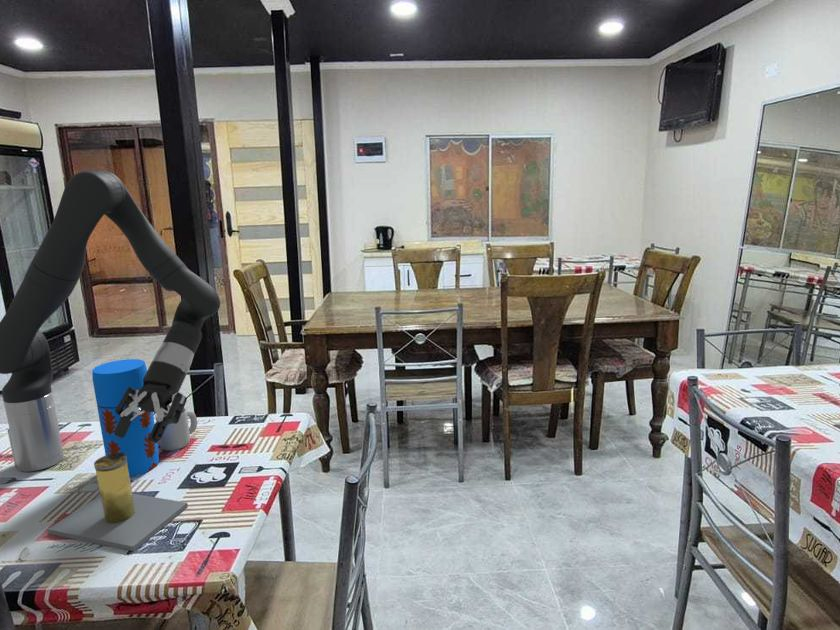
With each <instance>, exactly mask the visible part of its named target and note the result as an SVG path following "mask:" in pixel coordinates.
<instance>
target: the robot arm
mask: <svg viewBox="0 0 840 630" xmlns="http://www.w3.org/2000/svg"><path fill="white" fill-rule="evenodd" d="M61 195H62V196H61V199H60V201H59V204H58V206H57V210H56V213H55V216H54V218H53V221H52V223H51V225H50V227H49V229H48V230H47V232H46V234H45V236H44V237H43V239H42V241H41V243H40V245H39V248H38V249H37V251H36V253H35V255H34V256H33V258H32V260H31V262H30V264H29V266H28V268H27V270H26V272H25V274H24V277H23V279H22V281H21V284H20V285H19V287H18V289H17V291H16V293H15V295H14V296H13V299H12V301H11V303H10V305H9V307H8V309H7V311H6V313H5V314H4V316H3V317H2V319H1V320H0V375H9V374H11V376H10V378H9V380H8V381H7V382H6V383H5V384H4V386H3V387H2V389H1V396H2V401H3V406H4V410H5V415H6V419H7V423H8V429H7V434H8V439H9V443H10V449H11V453H12V457H13V459H12V460H13V462H14V466H15V467H17V469H18V470H19V471H21V472H25V473H26V472H35V471H36V472H37V471H40V470H44V469H47V468H50V467H53V466H55V465H57V464H59V463H60V462H61V461H62V460H64V458H65V454H64V448H63V443H62V436H61V432H60V431H61V430H60V426H59V421H58V417H57V411H56V404H55V400H54V396H53V391H52V383H53V378H54V372H53V371H54V370H53V362H52V358H51V350H50V345H49V342H48V340H47V337H46V336H45V335H44V334H43V332H42V331H40V328H41V327H42V326H43V325H44V324H45V323H46V321H48V319H49V318H50V317H52V315H54V314H55V312H56V311H58V310H59V308H61V306H62V305H64V304H65V302H66V301H67V300H68V299H69V297H70V296H71V295H72V293H73V291H74V289H75V287H76V285H77V284H78V282H79V280H80V278H81V276H82V274H83V271H84V267H85V262H86V254H87V253H86V252H87V245H88V242H89V239H90V237H91V235H92V233H93V231H94V230H95V229H96V227H97V225H98V223H99V222H100V220H101V219H102V218H103V217H104V216H106V217H107V218H109V220H110V221H111V222H113V223H114V224H115V225H116V226H117V227H118V228H119V229H120V230H121V232H122V233H123V235H125V237H126V239H127V240H128V241H127V242H129V244H130V246H131V248H132V249H133V252H134V254H135V255H136V258H138V261H139V262H140V263H141V265H142V267H143V268H144V269H145V270H146V271H147V272H148V273H149V274H150V275H151V277H152V278H153V279H154V280H155V281H156V283H158V284H159V286H161V287H162V288H163V290H165V291H167V292H175V293H177V294H178V295H179V296H180V297H181V300H180V301H179V303H178V305H177V307H176V309H175V313H174V315H173V319H172V323H171V326H170V328H169V330H168V331H167V333H166V335H165V337H164V339H163V342H162V343H161V345H160V346H159V348H158V350H157V351H156V352H155V355H154V357H153V359H152V361H151V363H150V365H149V366H148V369H147V372H146V374H145V376H144V378H143V383H144V384H143V387H142V388H141V389H140V390H135V389H133V388H132V387H129V388H128V389H127V390H126V392H125V394H124V396H123V398H122V399H121V401H120V403H119V405H118V406H117V408H116V410H115V413H117V414H118V415H120V416H121V418H120V420H119V422H118V424H117V426H116V428H115V431H114V432H115V433H114V435H115V436H117V437H119V438H124V437H125V435H126V433H127V431H128V429H129V427H130V424H131V422H132V421H131V420H133V419H134V418H135V417H136V416H138V415H141V414H143V413H144V412H153V414H157V419H158V422H156V421H155V425H154V427H153V429H152V431H151V433H150V436H149V438H148V440H149V441H151V442H153V443H158V442H159V440H160V439H161V438H162V435H163V433H164V431H165V429H166V427H167V426H168V425H169V424H172V423H174V424H177V423H178V421H179V419H180V416H181V414H182V411H183V409H184V408H185V405H186V403H187V401H188V397H186V395H184V394H183V393H181V392H180V391H181V388H182V385H183V383H184V381H185V378H186V377H187V375H188V373H189V370H190V368H191V366H192V363H193V359H194V356H195V355H196V354H195V353H196V352H197V350H198V347H199V346H200V343H201V341H202V339H203V338H202V337H203V336H202V335H203V333H202V331H201V330H202V327H203V325H204V323H205V321H206V320H207V319H208V318H210V317H211V316H213V315H215V314H216V313H217V312H218V311H219V310H220V308H221V298H220V296H219V294H218V293H217V291H216V289H215V288H214V287H213V286H211V285H210V284H209V283H208V282H207V281H205V280H204V279H203V278H201V277H200V276H198V275H197V274H196V273H194V272H193V271H192V270H190V269H189V268H188V267H187V266H186V264H185V262H183V261H182V260H181V258H179V256H178V255H177V254H176V253H175V252H174V251H173V250H172V249H171V247H170V246H169V245H168V244H167V243H166V241H164V239H163V238H162V237H161V236H160V235H159V233H158V231H156V229H155V228H154V227H153V225H152V224H151V223H150V221H149V220H148V219H147V217H146V216H145V214H144V213H143V212H142V210H141V208H140V207H139V206H138V205H137V203H136V201H135V199H134V198H133V196H132V195H131V193H130V191H129V190H128V188H127V187H126V185H125V184H124V182H123V181H122V180H121V179H120V178H119V177H118V176H117V175H116V174H114V173H112V172H111V171H108V170H104V169H95V170H94V169H93V170H91V169H90V170H83V171H79V172H76V173H75V174H74V175H72V176H71V177H70V178H69V179H68V180H67V182H66V184H65V187H64V189H63V192H62V194H61ZM138 404H139V407H140V408H138V407H137V405H138ZM170 404H171V405H170ZM125 405H126V407H125V409H124V410H123V408H124V406H125ZM169 405H170V407H169ZM169 408H170V409H169ZM132 411H134V412H132ZM131 412H132V413H131ZM130 413H131V414H130ZM174 414H175V415H174Z"/></svg>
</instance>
